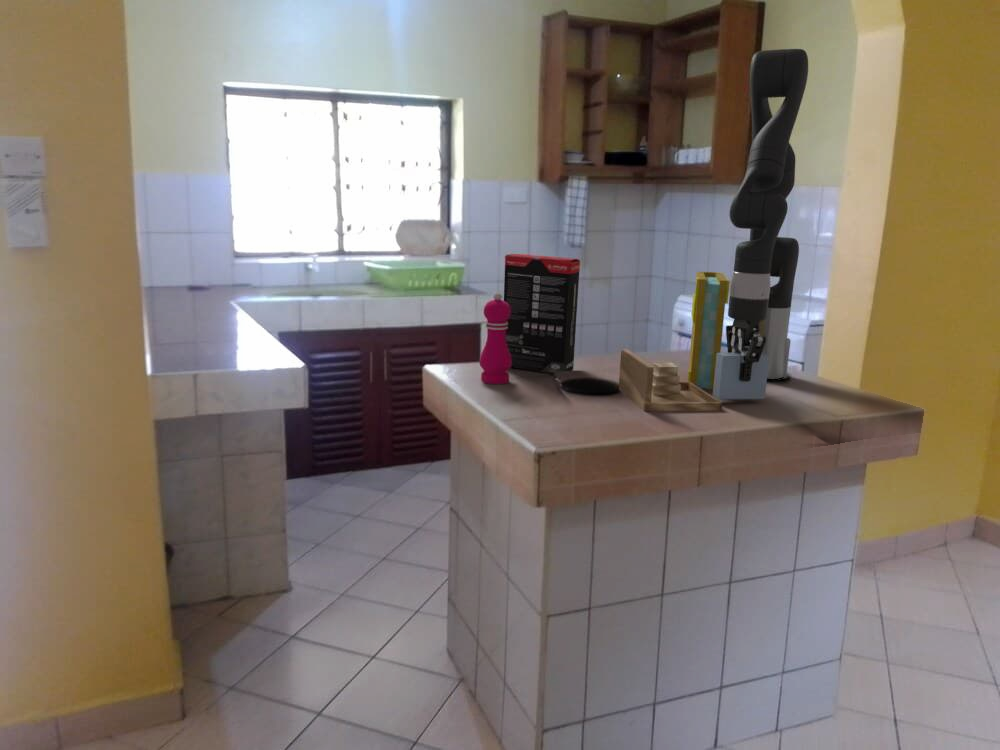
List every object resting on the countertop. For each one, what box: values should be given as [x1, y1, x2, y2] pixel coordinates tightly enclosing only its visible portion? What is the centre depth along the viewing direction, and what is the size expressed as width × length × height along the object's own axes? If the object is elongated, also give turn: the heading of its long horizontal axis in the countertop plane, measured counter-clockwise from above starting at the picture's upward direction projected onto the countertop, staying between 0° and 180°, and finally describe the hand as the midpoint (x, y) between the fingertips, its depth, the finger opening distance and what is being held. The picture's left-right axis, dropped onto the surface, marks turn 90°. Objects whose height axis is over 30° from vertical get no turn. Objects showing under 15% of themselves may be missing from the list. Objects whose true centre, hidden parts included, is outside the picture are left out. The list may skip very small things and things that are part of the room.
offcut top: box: [652, 362, 679, 376], centre depth 171 cm, size 4×4×2 cm
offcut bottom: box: [652, 384, 681, 395], centre depth 172 cm, size 6×4×2 cm, turn 99°
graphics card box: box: [503, 253, 581, 375], centre depth 191 cm, size 17×7×27 cm, turn 65°
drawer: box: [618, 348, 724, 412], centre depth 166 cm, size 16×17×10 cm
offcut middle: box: [653, 372, 680, 386], centre depth 172 cm, size 5×4×2 cm
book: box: [687, 271, 731, 391], centre depth 182 cm, size 17×7×25 cm, turn 168°
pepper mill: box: [479, 292, 512, 385], centre depth 180 cm, size 7×7×20 cm
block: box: [712, 352, 770, 400], centre depth 165 cm, size 10×3×9 cm, turn 99°
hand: (740, 378), depth 165 cm, fingers closed on block, 3 cm apart
